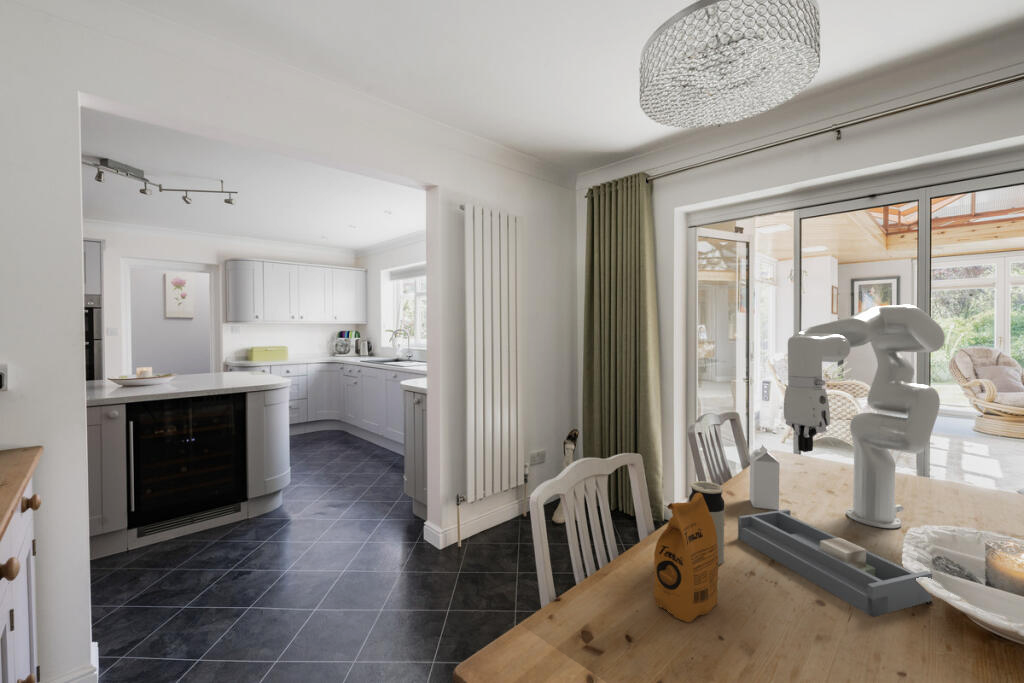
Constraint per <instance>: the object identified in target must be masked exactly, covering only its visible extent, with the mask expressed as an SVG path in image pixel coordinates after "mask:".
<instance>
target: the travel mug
mask: <svg viewBox="0 0 1024 683" xmlns="http://www.w3.org/2000/svg"><path fill="white" fill-rule="evenodd" d="M689 486H690V488H691V493H690V495H689V497H688V502H690V501H691V499H692V498H693V496H694V494H696V493H701V494H702V495H703V498H704V500H705V502H706V505H707V507H708V510H709V512H710V514H711V516H712V519H713V521H714V524H715V527H716V534H717V543H718V566H719V565H722V564H723V563H724V562H725V500H724V498H723V496H722V494H723V491H724V487H723V486H721V485H720V484H718V483H714V482H710V481H705V480H703V481H702V480H700V481H692V482H691V483H690V485H689Z"/></svg>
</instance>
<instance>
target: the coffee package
mask: <svg viewBox="0 0 1024 683" xmlns="http://www.w3.org/2000/svg"><path fill="white" fill-rule="evenodd" d="M666 507H667V509H668V510H671V514H672V516H671V517H670V518H669V521H668V522H667V525H666V526H667V527H666V529H665V530H663V532H662V533H661V535H660V536H659V538H658V539H657V542H656V545H655V549H654V553H653V554H654V556H653V557H654V579H653V580H654V581H653V582H654V583H653V599H654V601H655V604H656V605H657V604H658V605H659V606H661V607H660V608H662V607H663V608H662V609H664V610H665V609H666V610H667V611H669V612H670V613H669V614H671V615H672V616H673V618H675V619H677V618H678V619H677V620H680V621H681V620H683V621H682V622H684V621H685V622H684V623H686V622H690V623H692V622H693V621H694V620H695V619H696V618H697V617H698V616H704V615H705V614H706V615H709V614H710V613H711V611H712V610H713V609H714V608H715V606H717V605H718V579H719V578H718V577H719V565H718V543H717V534H716V527H715V524H714V521H713V519H712V516H711V514H710V512H709V510H708V507H707V505H706V502H705V500H704V498H703V495H702V494H701V493H696V494H694V496H693V498H692V499H691V501H690V502H689V501H688V502H674V503H673V502H670V503H669V504H668V505H667V506H666ZM658 605H657V606H658ZM659 606H658V607H659ZM666 610H665V611H666ZM667 611H666V612H667ZM709 612H710V613H709Z"/></svg>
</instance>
